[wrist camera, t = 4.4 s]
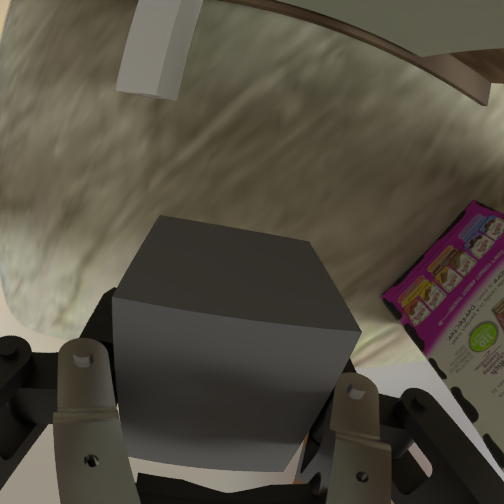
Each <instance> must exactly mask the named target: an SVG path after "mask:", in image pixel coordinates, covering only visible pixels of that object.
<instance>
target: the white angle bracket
mask: <svg viewBox="0 0 504 504" xmlns="http://www.w3.org/2000/svg"><path fill="white" fill-rule="evenodd" d="M203 1H204V0H139V1H138V4H137V8H136V11H135V14H134V17H133V20H132V24H131V27H130V31H129V34H128V38H127V41H126V45H125V49H124V53H123V57H122V61H121V65H120V69H119V74H118V78H117V83H116V88H115V91H119V92H124V93H129V94H134V95H139V96H144V97H149V98H157V99H165V100H172V101H177V98H178V94H179V89H180V85H181V81H182V77H183V73H184V69H185V65H186V61H187V57H188V53H189V49H190V45H191V42H192V38H193V34H194V31H195V27H196V24H197V20H198V17H199V14H200V10H201V7H202V4H203ZM277 1H280V2H284V3H288V4H291V5H295V6H298V7H302V8H305V9H308V10H311V11H314V12H318V13H321V14H324V15H326V16H329V17H332V18H335V19H338V20H340V21H343V22H346V23H348V24H351V25H353V26H356V27H358V28H361V29H363V30H366V31H368V32H370V33H373V34H375V35H377V36H379V37H382V38H384V39H386V40H388V41H390V42H392V43H394V44H397V45H399V46H401V47H403V48H405V49H407V50H409V51H410V52H412V53H414V54H416V55H418V56H420V57H426V56H433V55H439V54H447V53H454V52H463V51H472V50H484V49H498V48H504V0H277Z"/></svg>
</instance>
